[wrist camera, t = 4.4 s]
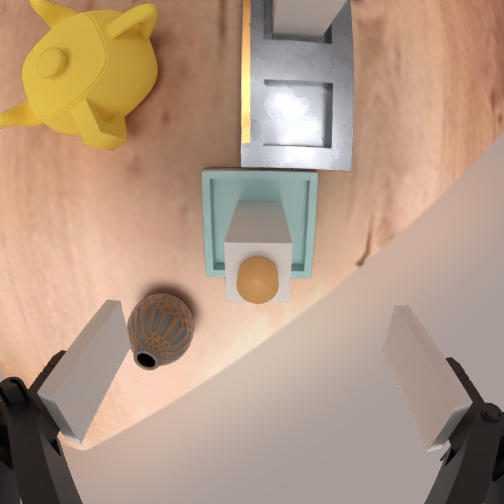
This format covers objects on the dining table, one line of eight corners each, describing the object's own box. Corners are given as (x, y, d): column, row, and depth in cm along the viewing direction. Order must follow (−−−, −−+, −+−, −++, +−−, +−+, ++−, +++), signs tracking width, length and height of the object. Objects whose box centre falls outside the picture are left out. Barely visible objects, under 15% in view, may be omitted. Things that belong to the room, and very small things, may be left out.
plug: (238, 241, 30) (223, 314, 18) (237, 200, 28) (220, 252, 17) (280, 242, 30) (290, 315, 18) (281, 201, 28) (295, 253, 17)
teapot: (81, 12, 21) (27, -13, 12) (189, 27, 23) (157, -14, 13) (40, 127, 26) (-22, 135, 17) (138, 158, 27) (86, 173, 18)
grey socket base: (243, 162, 27) (240, 167, 24) (244, -13, 21) (242, -31, 17) (340, 166, 27) (352, 171, 24) (339, -7, 20) (348, -23, 17)
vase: (130, 310, 34) (100, 357, 26) (160, 271, 32) (131, 316, 24) (177, 344, 36) (158, 396, 27) (211, 310, 33) (197, 363, 25)
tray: (209, 267, 31) (206, 276, 30) (205, 168, 28) (201, 171, 26) (308, 269, 31) (310, 278, 29) (314, 169, 27) (318, 172, 26)
